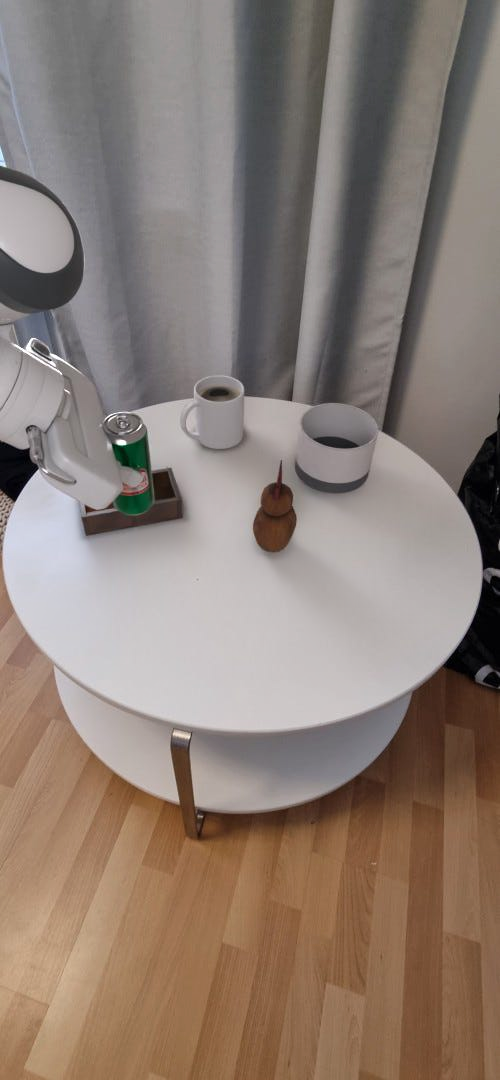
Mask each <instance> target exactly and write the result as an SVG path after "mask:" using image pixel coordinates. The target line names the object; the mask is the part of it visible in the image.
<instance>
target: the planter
mask: <svg viewBox="0 0 500 1080" xmlns="http://www.w3.org/2000/svg"><path fill="white" fill-rule="evenodd" d="M379 431H380V430H379V424H378V423H377V421H376V420H375V418H374V416H372V415H371V414H370V413H368V412H366V410H363V409H362V408H359V407H357V406H353V405H351V404H348V403H341V402H339V403H338V402H326V403H320V404H316V405H314V406H312V407H310V408H308V409H307V410H305V411H304V412H303V413H302V415H301V417H300V419H299V423H298V434H297V443H296V450H295V460H294V470H295V474H296V475H297V477H298V478H299V479H300V481H301V482H302V483H304V485H307V486H308V487H310V488H312V489H314V490H316V491H319V492H323V493H328V494H345V493H350V492H353V491H355V490H357V489H359V488H361V487H362V486H363V485H364V484H365V483H366V481H367V480H368V477H369V475H370V470H371V465H372V462H373V461H372V460H373V457H374V453H375V448H376V444H377V441H378V436H379Z"/></svg>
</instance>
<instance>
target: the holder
mask: <svg viewBox="0 0 500 1080" xmlns="http://www.w3.org/2000/svg"><path fill="white" fill-rule="evenodd" d="M152 478H153V487H154V496H155V501H154V504H153V506H152V507H151V508H150V509H149V510H148V511H146V512H144V513H142V514H139V515H126V514H123V513H121V512H119V511H118V510H117V509H116V508H115V507H114V505H113V502H112V503H111V504H110V505H109V506H108V507H106V508H105V509H100V510H96V509H93V508H91V507H89V506H87V505H85V504H83V503H81V502H79V501H78V504H79V506H78V507H79V512H80V518H81V522H82V527H83V531H84V535H85V537H89V536H94V535H98V534H104V533H109V532H110V533H111V532H116V531H121V530H126V529H133V528H137V527H143V526H148V525H153V524H159V523H164V522H170V521H176V520H180V519H184V513H183V511H184V510H183V499H182V496H181V493H180V490H179V487H178V484H177V480H176V477H175V474H174V472H173V468H172V467H166V468H159V469H153V470H152Z"/></svg>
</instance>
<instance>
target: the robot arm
mask: <svg viewBox="0 0 500 1080" xmlns="http://www.w3.org/2000/svg"><path fill="white" fill-rule="evenodd" d="M85 258H86V256H85V248H84V242H83V239H82V236H81V233H80V230H79V227H78V225H77V222H76V221H75V218H74V217H73V215H72V213H71V212H70V210H69V208H68V207H67V205H65V203H64V201H62V200H61V198H60V197H59V196H58V195H57V194H56V193H55V192H54V191H53V190H52V189H51V188H50V187H48V186H47V185H46V184H44V183H43V182H42V181H40V180H38V179H36V178H35V177H33V176H31V175H29V174H27V173H24V172H22V171H19V170H16V169H13V168H10V167H6V166H3V165H0V441H1V442H3V443H5V444H8V445H10V446H12V447H14V448H16V449H19V450H27V449H29V457H30V461H31V462H32V463H33V464H36V466H37V467H38V471H39V473H40V475H41V477H42V478H43V479H44V480H45V481H46V482H47V483H48V484H49V485H50V486H52V487H53V488H55V489H56V490H58V491H59V492H61V493H63V494H64V495H67V496H68V497H70V498H72V499H73V500H76V501H77V502H78V503H79V502H81V503H83V504H85V505H87V506H89V507H91V508H93V509H96V510H100V509H105V508H106V507H108V506H109V505H110V504H111V503H112V502H113V501H114V500H115V499H116V498H117V496H118V495H119V494H120V493H121V492H122V490H123V483H125V484H127V485H129V486H131V487H137V486H138V485H139V484H140V483H141V482H142V481H143V476H142V473H141V470H140V469H139V468H136V467H135V466H134V465H132V464H129V465H128V466H127V467H125V466H121V463H120V462H119V461H117V460H116V458H115V454H114V451H113V447H112V444H111V441H110V439H109V438H108V436H107V434H106V432H105V431H104V430H103V427H102V425H103V421H104V420H105V419H106V418H107V417H108V416H109V415H108V416H107V414H104V412H103V409H102V404H101V401H100V398H99V394H98V391H97V387H96V385H95V384H94V383H93V382H92V381H91V380H90V379H89V378H88V377H87V376H86V375H85V374H83V372H81V371H80V370H78V369H77V368H75V367H74V366H73V365H71V364H70V363H68V362H67V361H65V360H64V359H62V358H61V357H59V356H57V355H56V354H54V353H51V350H50V348H49V346H48V345H46V344H45V343H44V342H43V341H41V340H39V339H37V338H35V337H32V338H30V340H28V342H26V344H25V345H24V346H23V348H22V347H20V346H19V345H17V344H16V343H14V341H12V339H11V335H10V333H11V330H12V328H13V326H14V324H15V322H18V321H19V320H21V319H24V318H26V317H28V316H30V315H33V314H40V313H43V312H48V311H51V310H55V309H58V308H62V307H63V306H65V305H67V304H68V303H69V302H71V301H72V300H73V298H74V297H75V296H76V295H77V293H78V291H79V290H80V288H81V286H82V283H83V280H84V275H85V267H86V259H85Z"/></svg>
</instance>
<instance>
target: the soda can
mask: <svg viewBox="0 0 500 1080" xmlns="http://www.w3.org/2000/svg"><path fill="white" fill-rule="evenodd" d="M102 427H103V430H104V431H105V432H106V434H107V436H108V438H109V439H110V441H111V444H112V447H113V451H114V454H115V458H116V460H117V461H119V462H120V463H121V466H125V467H127V466H128V465H129V464H132V465H134V466H135V467H136V468H139V469H140V470H141V473H142V476H143V481H142V482H141V483H140V484H139V485H138V486H137V487H131V486H129V485H127V484H125V483H123V490H122V492H121V493H120V494H119V495H118V496H117V498H116V499H115V500H114V501H113V505H114V507H115V508H116V509H117V510H118V511H119V512H121V513H123V514H126V515H139V514H142V513H144V512H146V511H148V510H149V509H150V508H151V507H152V506H153V504H154V501H155V496H154V487H153V478H152V471H153V470H152V469H153V468H152V460H151V450H150V443H149V433H148V428H147V425H145V423H144V421H143V418H142V417H141V416H140V415H138V414H136V413H133V412H129V411H121V412H120V411H119V412H115V413H111V414H109V415H108V417H107V418H106V419H105V420H104V421H103V425H102Z"/></svg>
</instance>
